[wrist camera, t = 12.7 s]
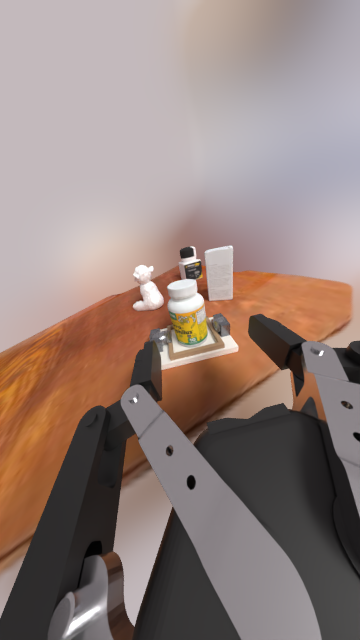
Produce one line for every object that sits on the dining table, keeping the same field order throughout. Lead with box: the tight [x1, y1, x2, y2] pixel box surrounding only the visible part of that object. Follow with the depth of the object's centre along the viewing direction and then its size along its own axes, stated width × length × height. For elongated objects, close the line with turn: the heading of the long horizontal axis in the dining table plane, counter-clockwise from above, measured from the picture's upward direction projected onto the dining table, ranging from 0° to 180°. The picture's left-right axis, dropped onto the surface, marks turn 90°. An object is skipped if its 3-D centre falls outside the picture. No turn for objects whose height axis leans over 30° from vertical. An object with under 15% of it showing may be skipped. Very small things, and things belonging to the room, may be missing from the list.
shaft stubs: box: [150, 313, 230, 352], centre depth 22 cm, size 13×4×2 cm, turn 98°
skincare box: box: [204, 246, 233, 301], centre depth 32 cm, size 6×4×12 cm
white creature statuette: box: [133, 265, 164, 311], centre depth 36 cm, size 10×9×12 cm
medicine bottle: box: [179, 247, 202, 280], centre depth 53 cm, size 7×7×12 cm
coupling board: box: [160, 316, 238, 370], centre depth 23 cm, size 13×9×2 cm
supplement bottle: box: [167, 279, 208, 347], centre depth 20 cm, size 5×5×10 cm
